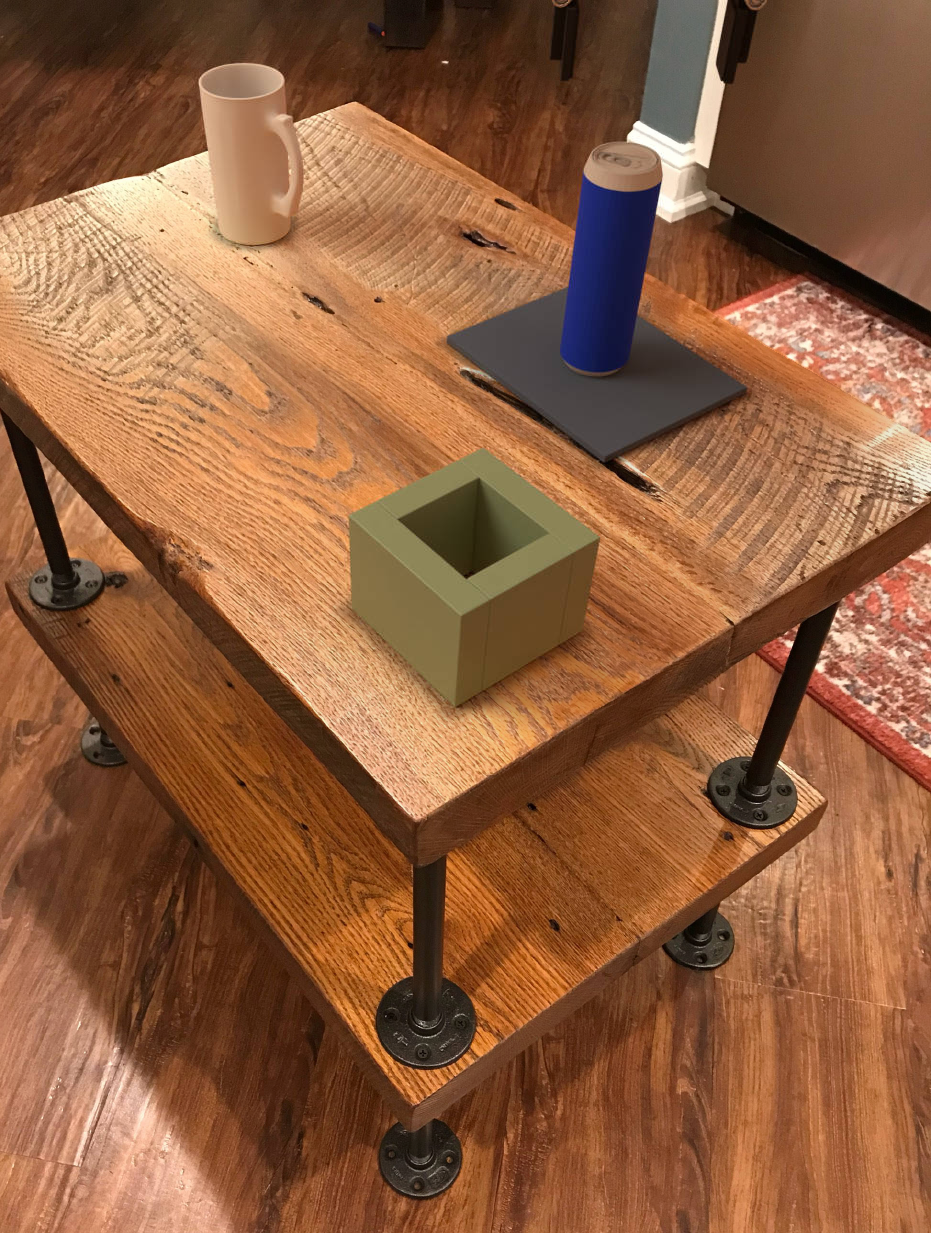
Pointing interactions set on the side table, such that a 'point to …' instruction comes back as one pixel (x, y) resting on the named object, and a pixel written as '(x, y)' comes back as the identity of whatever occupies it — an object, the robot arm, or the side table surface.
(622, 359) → the beverage can
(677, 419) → the mat
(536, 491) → the can holder
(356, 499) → the side table surface
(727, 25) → the robot arm
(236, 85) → the mug
